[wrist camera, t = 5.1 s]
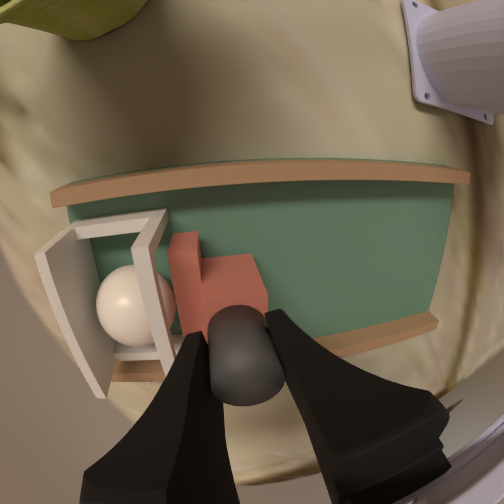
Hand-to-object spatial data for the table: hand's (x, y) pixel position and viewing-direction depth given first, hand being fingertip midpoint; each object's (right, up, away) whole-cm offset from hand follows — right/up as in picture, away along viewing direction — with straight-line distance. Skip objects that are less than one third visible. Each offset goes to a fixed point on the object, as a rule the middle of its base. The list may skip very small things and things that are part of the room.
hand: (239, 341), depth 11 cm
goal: (-6, +2, +5) cm, 8 cm away
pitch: (+3, +3, +6) cm, 7 cm away
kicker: (-1, +2, +4) cm, 5 cm away
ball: (-5, +1, +2) cm, 6 cm away
